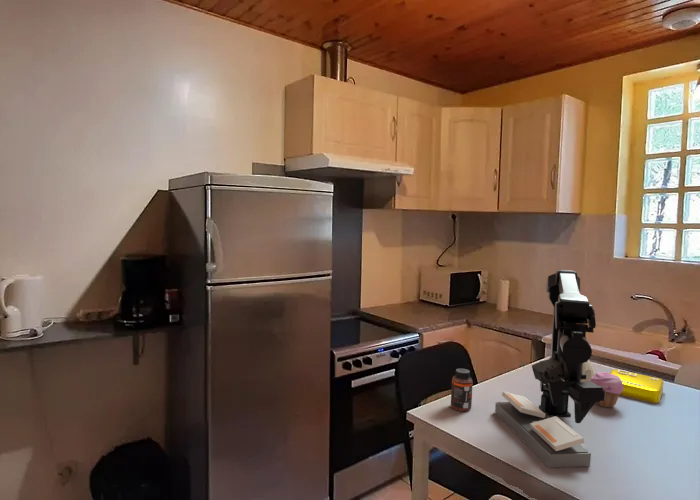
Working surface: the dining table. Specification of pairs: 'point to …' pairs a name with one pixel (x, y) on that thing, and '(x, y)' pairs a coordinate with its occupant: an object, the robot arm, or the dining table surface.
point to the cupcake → (608, 387)
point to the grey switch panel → (540, 447)
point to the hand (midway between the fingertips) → (565, 413)
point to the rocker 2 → (557, 433)
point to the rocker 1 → (523, 404)
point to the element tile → (640, 386)
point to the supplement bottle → (461, 390)
